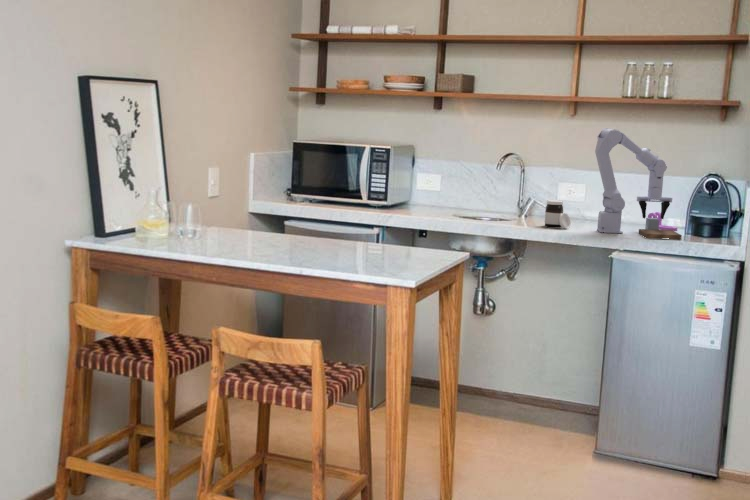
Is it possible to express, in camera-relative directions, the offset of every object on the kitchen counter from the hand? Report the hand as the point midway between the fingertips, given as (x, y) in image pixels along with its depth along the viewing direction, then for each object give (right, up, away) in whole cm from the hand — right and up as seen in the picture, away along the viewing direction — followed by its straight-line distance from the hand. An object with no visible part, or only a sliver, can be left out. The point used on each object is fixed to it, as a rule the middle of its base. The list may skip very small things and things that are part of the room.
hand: (652, 218), depth 367 cm
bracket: (+9, -5, +12) cm, 16 cm away
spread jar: (-40, -4, +8) cm, 41 cm away
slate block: (0, -6, +1) cm, 6 cm away
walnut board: (-1, -8, -12) cm, 14 cm away
